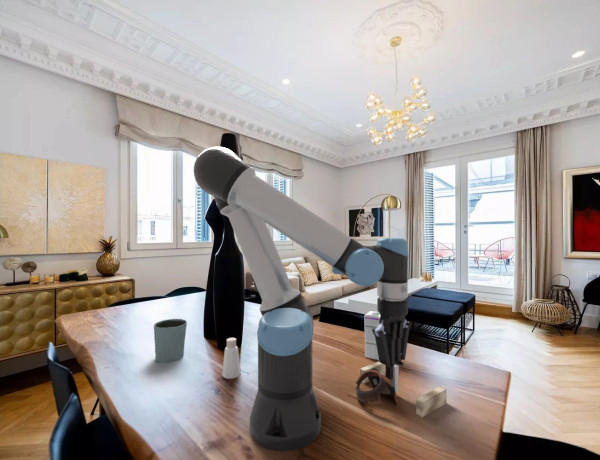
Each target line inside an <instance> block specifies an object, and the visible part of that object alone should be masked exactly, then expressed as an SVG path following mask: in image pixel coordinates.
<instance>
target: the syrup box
mask: <svg viewBox="0 0 600 460" xmlns="http://www.w3.org/2000/svg"><path fill="white" fill-rule="evenodd" d="M363 318H364V319H363V320H364V321H363V323H364V356H365V358H368V359H371V360H375V361H379V357H378V351H377V345H376V340H375V336H374V334H373V332H372V329H373V328H377V327H378V326H379V320H380V313H379V312H378V311H375V310H374V311H372V310H370V311H368V312H367V313H366V314H364V317H363Z"/></svg>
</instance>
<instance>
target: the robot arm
mask: <svg viewBox="0 0 600 460" xmlns="http://www.w3.org/2000/svg"><path fill="white" fill-rule="evenodd" d="M193 177H194V179H195V182H196V184H197V185H198V186H199V188H201V190H202V191H203V192H205V193H207V194H208V195H211V196H212V197H213V198H214V201H215V204H216V206H217V208H218V210H219V211H218V212H219V213H220V214H221V215H223V216H226V217H227V218H228V219H229V222H230V224H231V227H232V229H233V232H234V234H235V237H236V239H237V242H238V245H239V246H240V249H241V252H242V254H243V256H244V260H245V262H246V263H247V266H248V268H249V271H250V274H251V276H252V278H253V281H254V283H255V286H256V288H257V291H258V294H259V296H260V298H261V304H260V306H259V311H260V315H261V317H260V319H259V321H258V328H257V332H256V333H257V335H256V336H257V384H258V385H257V393H256V394H255V398H254V401H253V406H252V409H251V412H250V415H249V434H250V436H251V438H252V440H254V442H255V443H257V445H259V446H261V447H262V448H263V449H264V448H265V449H268V450H270V451H275V452H292V451H297V450H300V449H304V448H305V447H308V446H309V445H311V444H312V443H313V442H314V441H316V440H317V438H318V436H319V435H320V432H321V428H322V420H321V419H322V418H321V417H322V415H321V411H320V408H319V405H318V401H317V399H316V394H315V391H314V388H313V337H314V326H315V325H314V317H313V313H312V310H311V309H310V308H309V306H308V305H307V304H306V302H305V300H304V298H303V296H302V293H301V290H299V289H296V288H294V287H292V283H291V281H290V278H289V276H288V273H287V271H286V269H285V267H284V264H283V262H282V259H281V257H280V255H279V252H278V250H277V247H276V245H275V242H274V240H273V237H272V234H271V232H270V230H269V227H268V226H270V227H271V228H273V229H275V230H276V231H277V232H279V233H281V234H282V235H283V236H284V237H287V238H288V239H290V240H291V241H293V242H294V243H295V244H298V245H299V246H300V247H302V248H303V249H305V250H306V251H308V252H309V253H311V254H312V255H314V256H315V257H317V258H318V259H320V260H322V261H323V262H325V263H326V264H327V265H329V266H331V271H332V273H333V274H334V275H341V276H345V277H347V278H348V280H349V281H351V282H353V284H355V285H358V286H361V287H370V286H373V285H375V284H377V285H376V294H377V296H378V297H377V301H376V302H377V303H376V306H377V307H376V309H377V312H379V313H380V320H379V326H378V327H377V328H373V329H372V332H373V334H374V336H375V340H376V345H377V351H378V357H379V360H378V362H380V363H382V364H384V365H385V366H386V375H385V377H387V378H388V379H389V380H390V382H391V383H392V385H393V387H394V389H395V393H396V394H397V393H398V392H399V391H400V390H399V389H400V386H399V385H400V378H399V377H400V366H401V367H402V366H404V362H403V361H405V360H406V354H407V349H408V348H407V346H408V340H409V334H410V329H411V326H412V322H411V321H407V319H406V316H408V314H409V301H408V299H407V298H408V297H409V295H408V294H409V293H408V291H409V290H408V289H409V288H408V287H409V286H408V285H409V284H408V283H409V281H408V277H409V276H408V275H409V274H408V273H409V269H408V268H409V265H408V264H409V251H408V249H409V248H408V242H407V240H406V239H405V238H398V237H397V238H395V237H394V238H393V237H391V238H390V237H388V238H387V237H384V238H381V237H380V238H378V239H377V242H376V245H364V244H361V243H360V242H358V241H357V240H355V239H353V238H352V237H351V236H349V235H348V234H346V233H345V232H344V231H342V230H340V228H339V229H338V228H337V227H335V226H334V225H332V224H331V223H330V222H328V221H326V220H324V218H322V217H320V216H319V215H317V214H316V213H314V212H312V211H311V210H310V209H308V208H307V207H305V206H303V205H302V204H301V203H299V202H297V201H296V200H294V199H293V198H291V197H290V196H288V195H287V194H285V193H283V192H282V191H280V190H279V189H277V188H276V187H274V185H271V184H269V183H268V181H265V180H264V179H262V178H260V177H259V176H257V174H256V170H255V168H253V167H252V166H250V165H249V164H248V163H246V162H245V161H243V160H242V158H240V156H239V155H237V153H236V152H233V151H232V150H231V149H229V148H226V147H223V146H212V147H209V148H206V149H204V150H203V151H202V152H201V153H200V154H198V156H197V157H196V160H195V162H194V164H193ZM267 225H268V226H267Z"/></svg>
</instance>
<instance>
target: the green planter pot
mask: <svg viewBox="0 0 600 460" xmlns="http://www.w3.org/2000/svg"><path fill="white" fill-rule="evenodd" d="M187 323H188V321H187V320H186V319H182V318H170V319H163V320H160V321H157V322H155V323H154V324H153V337H154V354H155V355H154V358H155V362H157V363H163V364H164V363H167V364H168V363H172V362H176V361H178V360H180V359H182V358H184V354H185V352H184V351H185V341H186V333H187Z"/></svg>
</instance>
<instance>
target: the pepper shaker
mask: <svg viewBox="0 0 600 460" xmlns="http://www.w3.org/2000/svg"><path fill="white" fill-rule="evenodd" d="M221 375H222V376H221V377H223V378H225V379H235V378H238V377H240V375H241V364H240V355H239V347H238V346H237V338H235V337H229V338H226V347H225V348H224V354H223V363H222V372H221Z"/></svg>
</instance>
